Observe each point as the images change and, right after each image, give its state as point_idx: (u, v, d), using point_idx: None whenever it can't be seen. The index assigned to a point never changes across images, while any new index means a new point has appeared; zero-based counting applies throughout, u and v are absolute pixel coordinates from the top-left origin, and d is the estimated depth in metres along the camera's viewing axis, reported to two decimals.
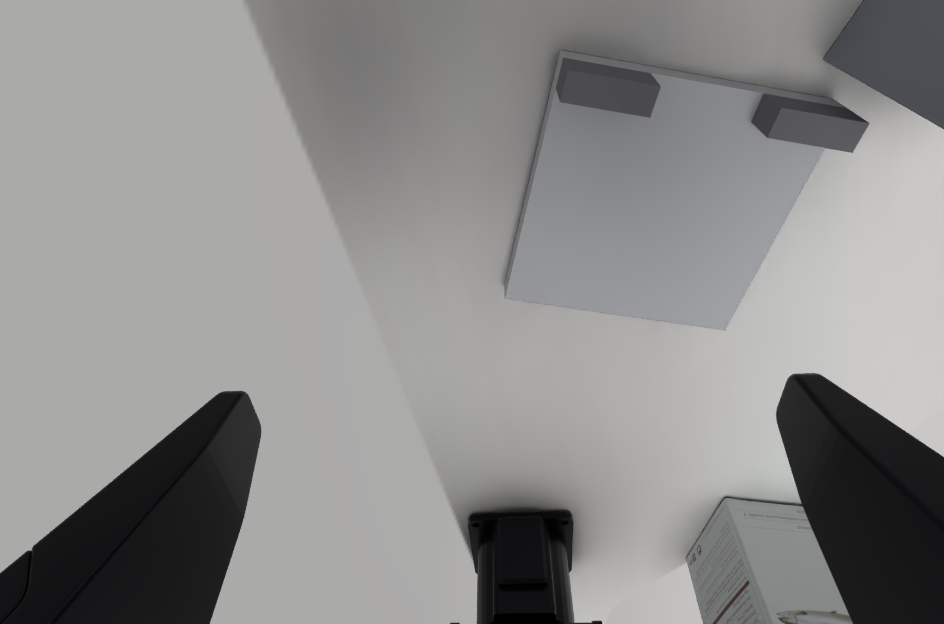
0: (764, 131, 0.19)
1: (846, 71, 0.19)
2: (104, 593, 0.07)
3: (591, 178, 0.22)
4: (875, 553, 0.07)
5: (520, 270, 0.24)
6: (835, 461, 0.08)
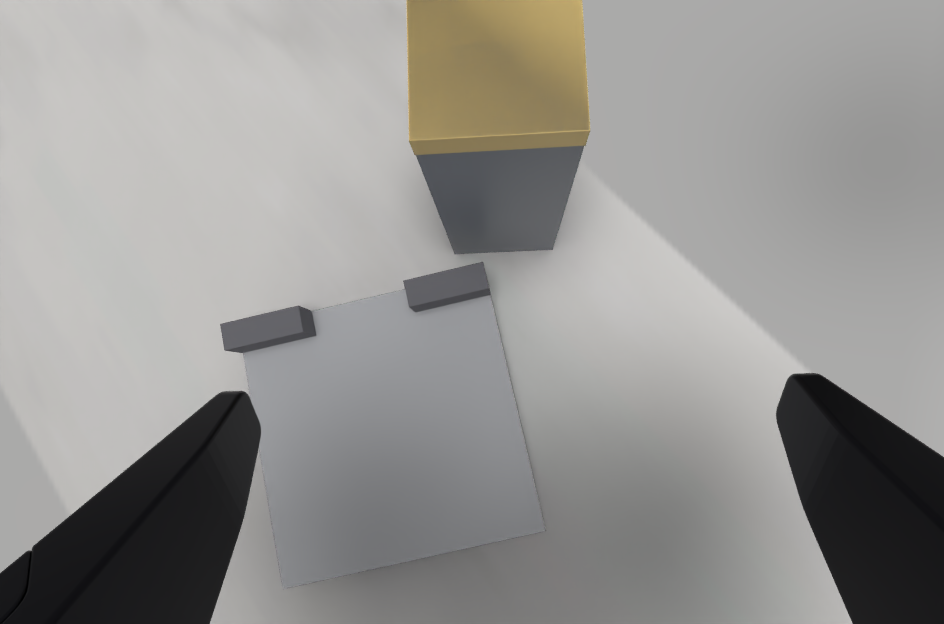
0: None
1: None
2: (104, 593, 0.07)
3: (308, 415, 0.22)
4: (875, 553, 0.07)
5: (284, 544, 0.22)
6: (835, 461, 0.08)
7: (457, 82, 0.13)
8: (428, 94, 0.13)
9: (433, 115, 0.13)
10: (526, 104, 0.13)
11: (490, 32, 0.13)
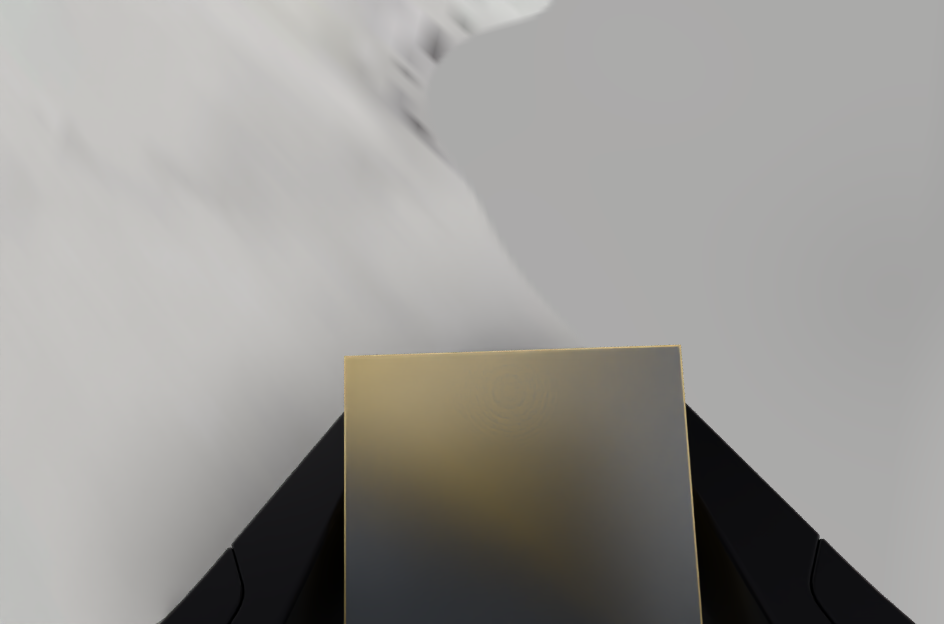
0: None
1: None
2: (313, 591, 0.06)
3: None
4: None
5: None
6: None
7: (441, 589, 0.07)
8: (384, 612, 0.07)
9: None
10: None
11: (507, 483, 0.07)
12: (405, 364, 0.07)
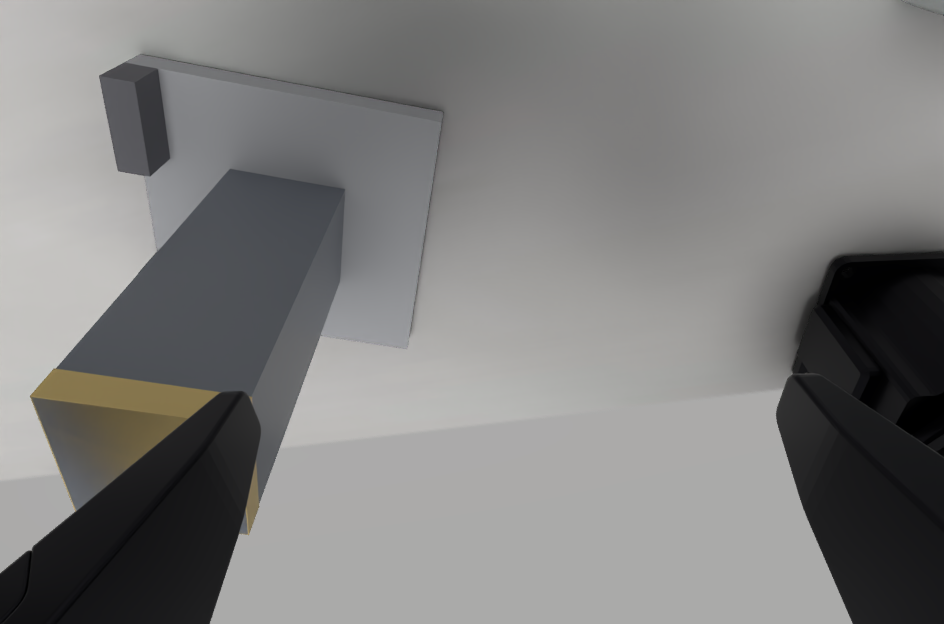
0: None
1: (330, 305, 0.22)
2: (104, 593, 0.07)
3: None
4: (875, 553, 0.07)
5: (372, 337, 0.25)
6: (835, 461, 0.08)
7: None
8: None
9: None
10: None
11: None
12: (75, 494, 0.13)
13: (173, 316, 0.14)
